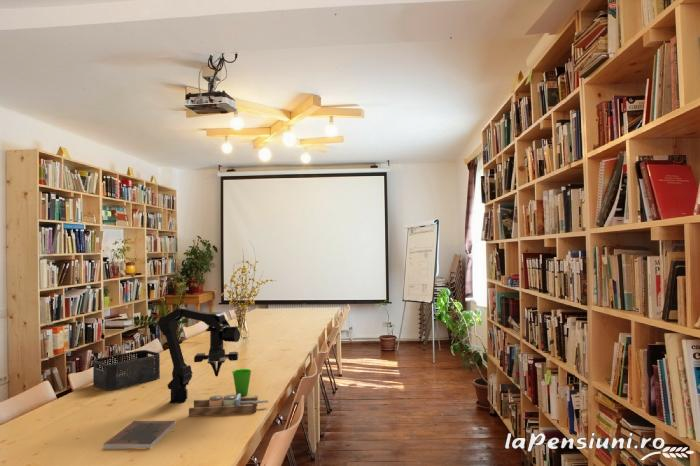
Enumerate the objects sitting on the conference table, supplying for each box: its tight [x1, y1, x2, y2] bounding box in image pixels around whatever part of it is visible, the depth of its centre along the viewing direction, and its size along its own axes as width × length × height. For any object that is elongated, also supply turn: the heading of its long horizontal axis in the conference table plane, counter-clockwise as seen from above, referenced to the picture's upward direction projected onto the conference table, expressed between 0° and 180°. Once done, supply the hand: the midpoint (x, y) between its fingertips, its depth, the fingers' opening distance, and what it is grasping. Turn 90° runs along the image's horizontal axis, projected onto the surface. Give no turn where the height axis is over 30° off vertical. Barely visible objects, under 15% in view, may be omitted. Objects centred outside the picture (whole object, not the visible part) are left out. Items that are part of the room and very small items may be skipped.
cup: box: [231, 368, 252, 397], centre depth 215 cm, size 9×9×11 cm
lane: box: [188, 395, 259, 417], centre depth 194 cm, size 27×11×4 cm, turn 98°
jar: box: [209, 394, 224, 407], centre depth 194 cm, size 6×6×5 cm
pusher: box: [236, 394, 269, 405], centre depth 196 cm, size 13×8×5 cm, turn 98°
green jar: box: [223, 394, 237, 406], centre depth 195 cm, size 6×6×5 cm
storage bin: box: [92, 349, 161, 391], centre depth 240 cm, size 29×19×13 cm
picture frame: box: [102, 420, 177, 450], centre depth 167 cm, size 16×2×22 cm
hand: (216, 376), depth 203 cm, fingers closed
